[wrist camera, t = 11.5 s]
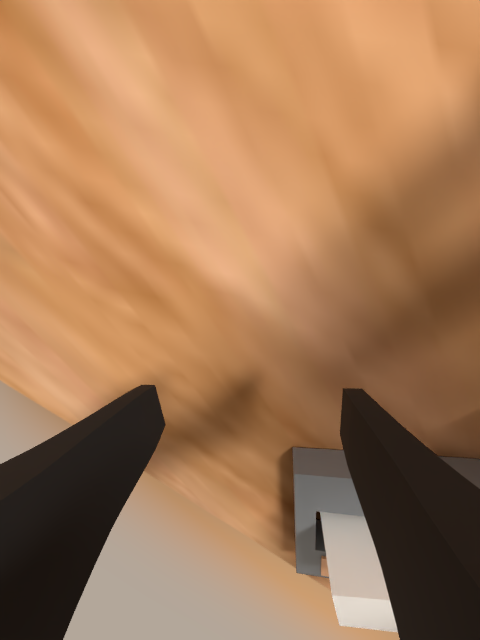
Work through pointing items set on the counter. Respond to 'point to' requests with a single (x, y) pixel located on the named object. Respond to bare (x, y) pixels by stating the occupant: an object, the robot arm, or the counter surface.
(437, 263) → the counter surface
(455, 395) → the counter surface
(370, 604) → the plug
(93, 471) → the robot arm
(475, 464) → the socket board
